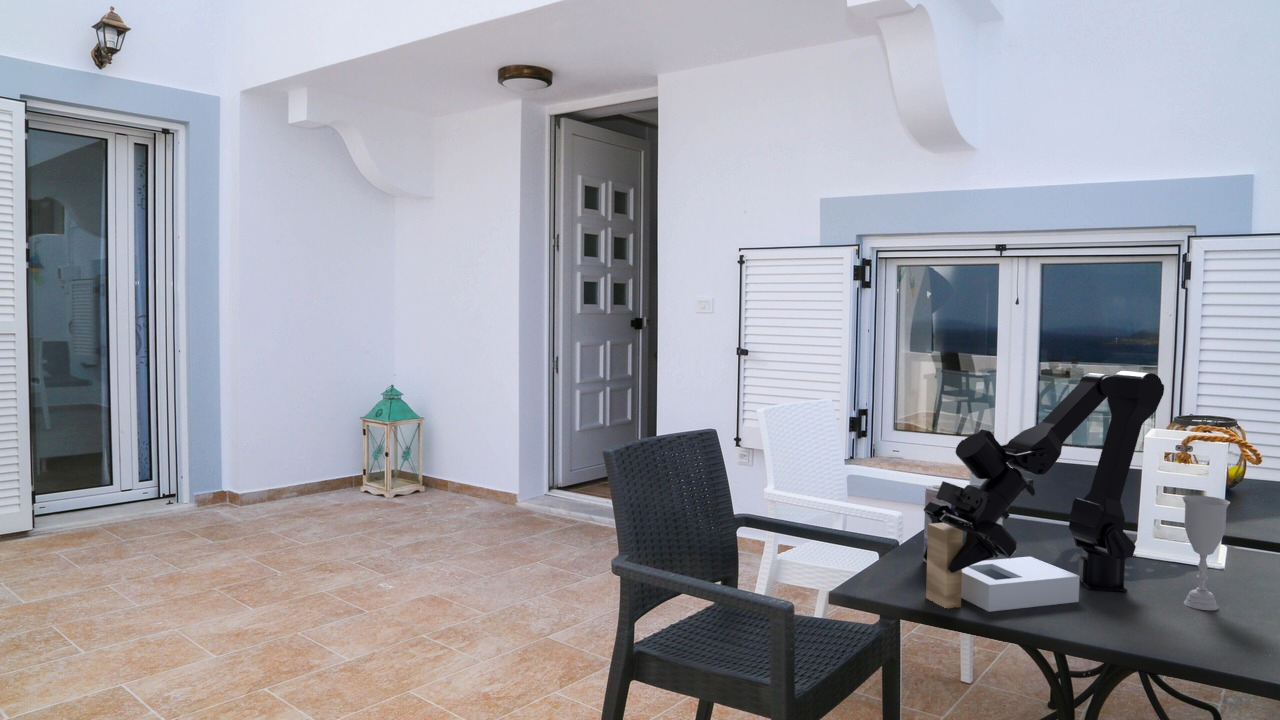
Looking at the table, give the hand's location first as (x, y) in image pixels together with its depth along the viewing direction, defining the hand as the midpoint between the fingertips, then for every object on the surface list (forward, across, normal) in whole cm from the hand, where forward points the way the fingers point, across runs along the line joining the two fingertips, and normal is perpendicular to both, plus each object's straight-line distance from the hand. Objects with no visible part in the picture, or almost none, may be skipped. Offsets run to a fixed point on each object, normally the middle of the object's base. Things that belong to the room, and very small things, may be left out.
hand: (937, 565), depth 150 cm
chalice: (-25, +13, +35) cm, 45 cm away
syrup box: (-22, -37, +32) cm, 54 cm away
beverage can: (-5, -20, +15) cm, 25 cm away
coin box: (-6, 0, +15) cm, 16 cm away
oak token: (+4, 0, +6) cm, 7 cm away
